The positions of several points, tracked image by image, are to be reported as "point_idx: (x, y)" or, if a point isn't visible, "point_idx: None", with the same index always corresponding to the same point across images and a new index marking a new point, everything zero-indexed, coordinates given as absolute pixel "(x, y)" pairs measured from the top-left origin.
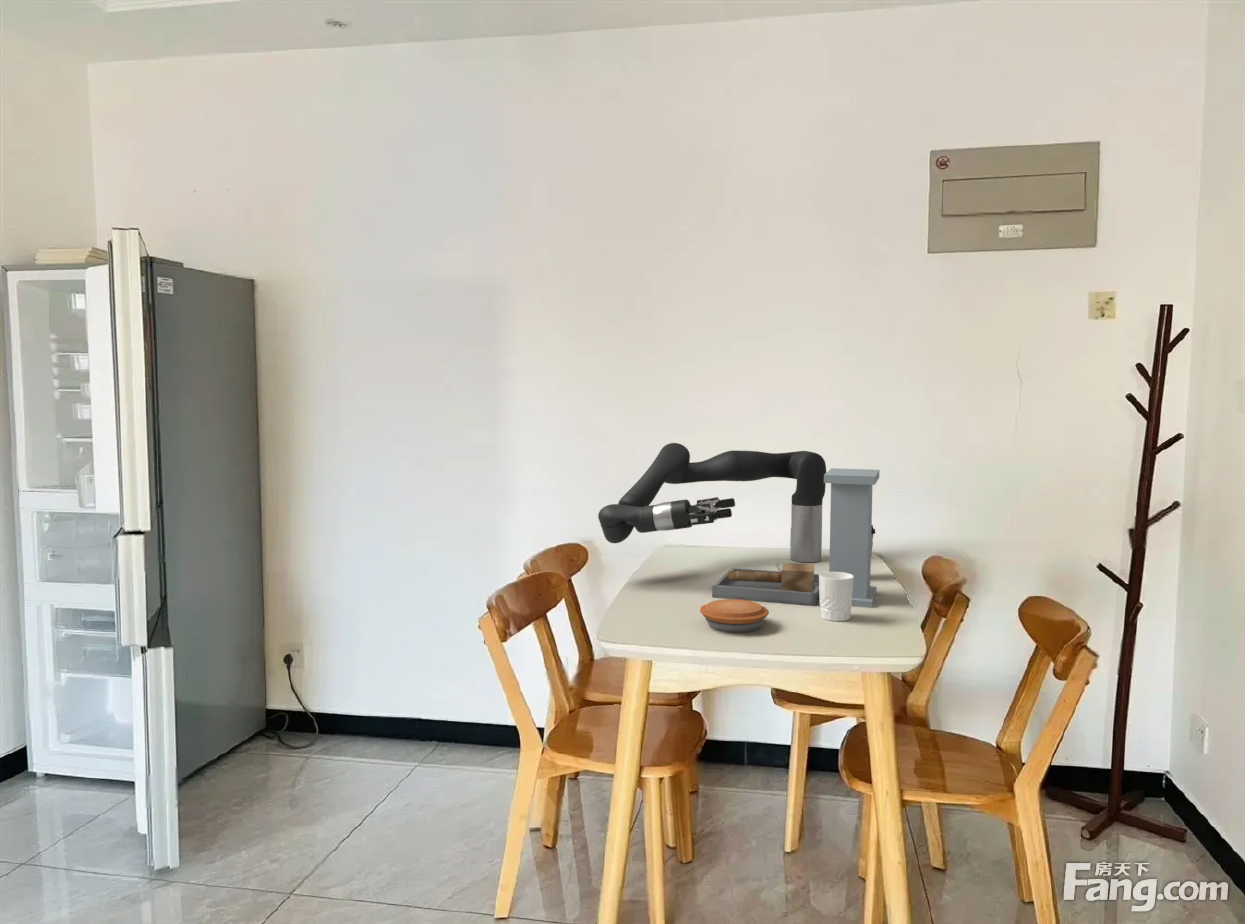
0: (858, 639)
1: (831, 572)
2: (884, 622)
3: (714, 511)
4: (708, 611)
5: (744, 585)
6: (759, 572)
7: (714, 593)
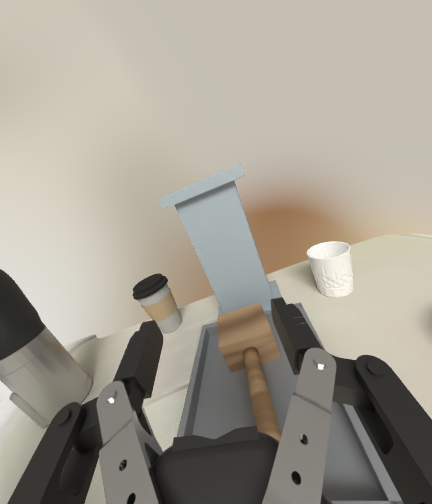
0: (390, 256)
1: (313, 257)
2: None
3: (327, 352)
4: None
5: None
6: (258, 382)
7: None
